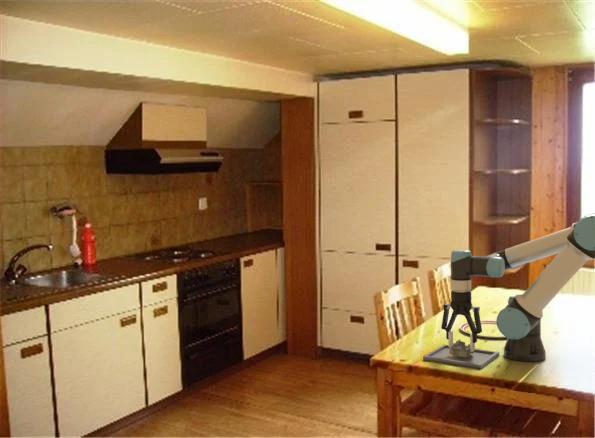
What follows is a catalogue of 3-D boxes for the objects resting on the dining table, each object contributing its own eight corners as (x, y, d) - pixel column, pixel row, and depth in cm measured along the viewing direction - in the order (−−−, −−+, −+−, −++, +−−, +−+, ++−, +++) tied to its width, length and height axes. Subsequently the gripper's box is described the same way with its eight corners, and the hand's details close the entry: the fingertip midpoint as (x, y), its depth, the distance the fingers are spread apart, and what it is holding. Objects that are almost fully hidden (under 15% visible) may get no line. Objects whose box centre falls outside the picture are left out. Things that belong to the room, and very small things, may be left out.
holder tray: (499, 355, 240) (499, 352, 240) (480, 369, 224) (480, 365, 224) (444, 347, 253) (444, 344, 253) (423, 360, 237) (423, 356, 237)
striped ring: (529, 343, 258) (529, 335, 258) (461, 341, 264) (461, 333, 264) (519, 328, 285) (519, 321, 285) (458, 326, 291) (458, 319, 290)
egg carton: (459, 348, 245) (459, 338, 245) (476, 353, 240) (477, 342, 240) (445, 353, 238) (446, 343, 237) (463, 358, 233) (464, 347, 232)
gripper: (491, 291, 234) (491, 350, 235) (439, 286, 246) (439, 343, 247) (484, 294, 228) (484, 355, 229) (431, 289, 240) (432, 347, 241)
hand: (461, 349), depth 238 cm, fingers closed on egg carton, 8 cm apart
